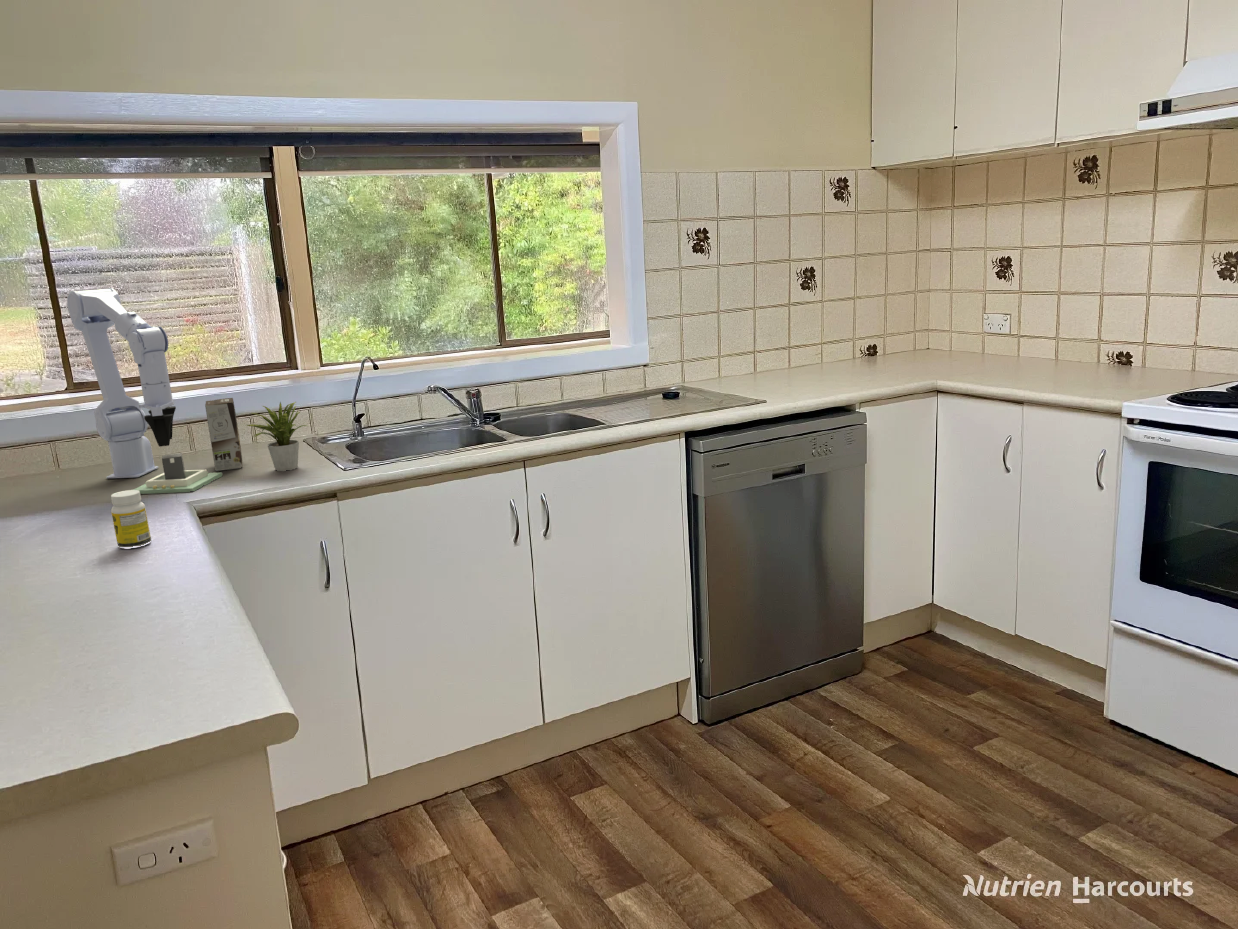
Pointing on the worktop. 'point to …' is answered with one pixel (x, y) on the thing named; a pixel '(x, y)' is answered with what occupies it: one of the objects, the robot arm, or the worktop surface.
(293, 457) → the house plant
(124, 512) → the supplement bottle
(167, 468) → the plug block
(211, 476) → the socket board
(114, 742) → the worktop surface
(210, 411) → the coffee box
